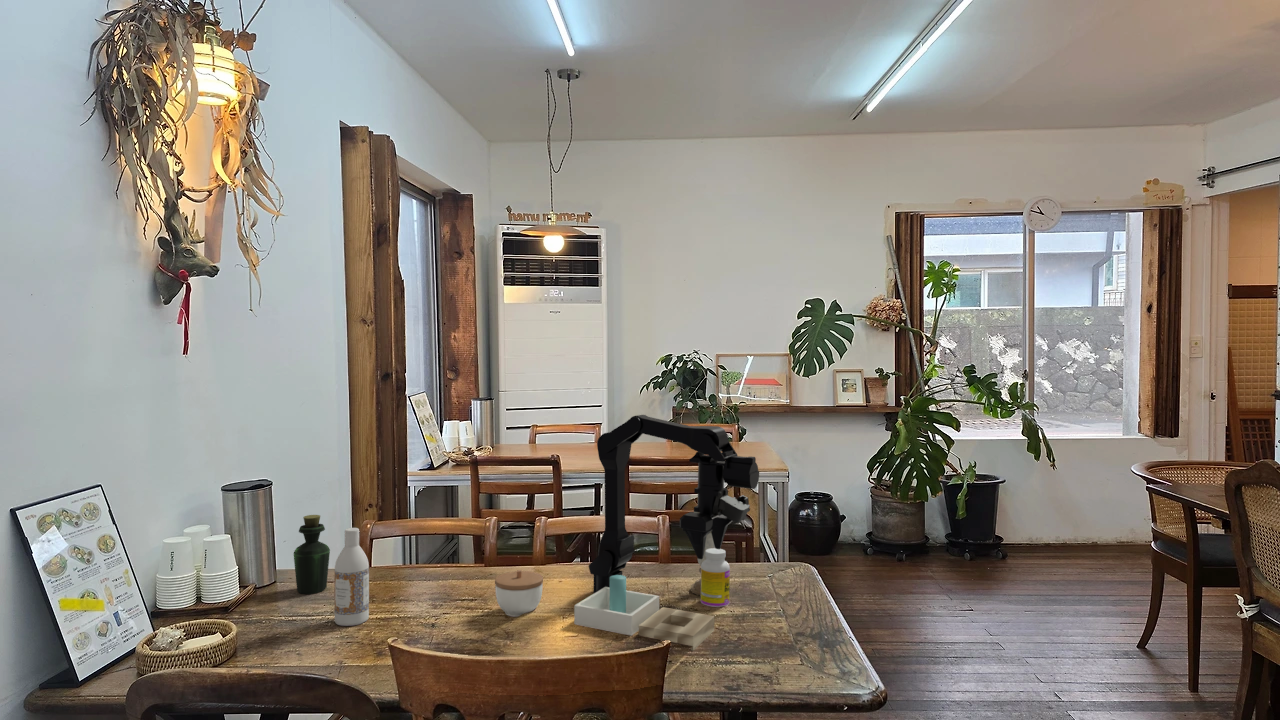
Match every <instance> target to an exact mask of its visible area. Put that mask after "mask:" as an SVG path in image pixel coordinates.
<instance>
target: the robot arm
mask: <svg viewBox="0 0 1280 720" xmlns="http://www.w3.org/2000/svg"><path fill="white" fill-rule="evenodd" d="M642 435H647V436H651V437H654V438H655V437H656V438H660V439H663V440H668V441H673V442H677V443H681V444H683V445H685V446H687V447H688V448H690V449H691V450H693V451H695V454H694V455H693V456H692V457H691V458H689V462H690V463H695V464H698V467H697V470H698V471H697V473H698V474H697V487H695V488H694V490H693V491H694V492H693V493H694V494H697V505H696V506H693V511H690V512H689V511H688V513H685V514H682V515H681V517H679V528H680V529H682V531H683V532H685V535H686V536H687V538H688V540H689V541H690V544H691V547H692V548H693V551H694V553H695V556H696V557H697V560H698V559H703V556H704V550H705V543H706V536H707V535H708V534H709V533H710V532H711V533H712V538H713V542H714V545H715V548H716V549H722V545H723V542H724V538H725V536H726V535H725V534H726V532H727V529H728V525H730V524H731V523H732V522H734V523H736V524H739V523H741V522H742V521H745V519H746V516H747V514H748V513H749V512H750V511H751V508H750V506H751V504H750V502H749V497H747V496H746V495H740V496H739V497H737V498H736V497H735V496H734V497H732V496H730V495H729V490H728V488H727V487H724V486H725V485H724V483H725V484H727V486H729V487H735V488H742V489H751V490H755V489H756V488H757V486H758V484H759V480H760V470H759V466H758V464H757V461H756V458H757V457H755V456H740V455H738V453H737V452H736V450H735V449H734V447H733V445H732V444H731V443H730V441H729V436H728V433H727V432H726V429H724V428H723V427H721V426H716V425H715V426H714V425H689V424H688V425H687V424H683V423H680V422H679V423H677V422H674V421H673V422H672V421H669V420H664V419H660V418H655V417H652V416H647V415H646V414H637V415H633V416H631V417H630V418H629V419H628V420H626V421H625V422H624V423H622V424H621V425H619V426H617V427H615V428H613V429H612V430H611V431H609V432H605V433H602V434H601V435H600V436H599V437H598V439H597V440H596V449H597V454H598V460H599V462H600V463H601V465H602V467H603V470H604V531H603V533H602V535H601V538H600V541H599V545H598V551H597V557H596V558H595V559H594V560H592V562H590V563H589V564H588V570H589V572H590V575H593V589H592V590H593V594H594V593H596V592H598V591H599V590H601V589H603V588H604V587H609V588H610V577H611V576H613V575H623V570H622V569H625V568H626V566H627V563H628V562H629V561H630V560H631V559H632V557H633V553H635V552H636V550H635V545H634V542H635V535H633V534H631V535H630V534H629V533H628V531H627V528H626V484H625V483H626V478H625V477H626V475H625V474H626V473H625V471H626V466H627V463H628V461H629V459H630V456H631V449H632V445H633V443H635V442H637V440H639V439H640V437H642ZM694 512H699V513H694Z"/></svg>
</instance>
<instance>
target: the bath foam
mask: <svg viewBox="0 0 1280 720" xmlns="http://www.w3.org/2000/svg"><path fill="white" fill-rule="evenodd" d="M369 564H370V563H369V559H368V557H367V555H366V553H365V551H364V550H363V548H362V547H361V546H360V529H359V528H358V527H349V528H345V529H344V547H343V548H342V550H341V551H340V553H339V554H338V556H337V558H336V561H335V565H334V575H333V576H334V584H333V585H334V587H333V588H334V594H333V595H334V602H333V603H334V608H333V609H334V623H335V624H336V625H338V626H341V627H353V626H357V625H362V624H363V623H365V622H367V621H368V620H369V618H370V613H369V612H370V565H369Z"/></svg>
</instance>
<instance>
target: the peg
mask: <svg viewBox="0 0 1280 720" xmlns="http://www.w3.org/2000/svg"><path fill="white" fill-rule="evenodd" d="M626 590H627V577H626V576H625V575H623V574H622V575H613V576H611V577H610V601H609V610H611V611H616V612H622V613H626Z"/></svg>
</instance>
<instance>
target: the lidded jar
mask: <svg viewBox="0 0 1280 720" xmlns="http://www.w3.org/2000/svg"><path fill="white" fill-rule="evenodd" d="M543 583H544V576H543V575H542V574H541V573H538V572H535V571H527V570H520V569H518V570H515V571H508V572H505V573H501V574H499V575H498V576H496V577H495V578H494V585H495V587H494V589H495V597H496V602H497V604H498V606H499V608H500V609H501V610H502V611H503V612H504V613H505V615H506V616H508V617H513V618H518V617H520V616H522V615H524V614H527V613H531V612H532V611H534V610H536V608H538V605H539V604H540V602H541V599H542V597H543V596H542V595H543Z"/></svg>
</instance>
